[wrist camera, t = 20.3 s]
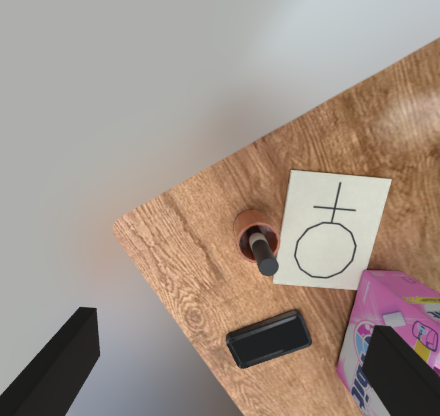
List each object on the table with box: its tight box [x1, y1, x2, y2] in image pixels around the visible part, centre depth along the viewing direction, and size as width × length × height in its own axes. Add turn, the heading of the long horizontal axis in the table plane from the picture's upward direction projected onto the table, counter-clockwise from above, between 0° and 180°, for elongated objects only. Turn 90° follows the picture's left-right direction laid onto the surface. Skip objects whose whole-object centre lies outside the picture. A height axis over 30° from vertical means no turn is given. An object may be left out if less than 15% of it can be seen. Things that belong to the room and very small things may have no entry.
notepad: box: [272, 170, 392, 290], centre depth 37 cm, size 20×16×1 cm
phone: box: [226, 310, 312, 369], centre depth 42 cm, size 8×1×15 cm
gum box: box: [336, 270, 440, 416], centre depth 35 cm, size 24×8×14 cm, turn 175°
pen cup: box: [233, 210, 281, 263], centre depth 33 cm, size 6×6×7 cm
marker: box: [245, 225, 279, 276], centre depth 30 cm, size 2×2×13 cm
